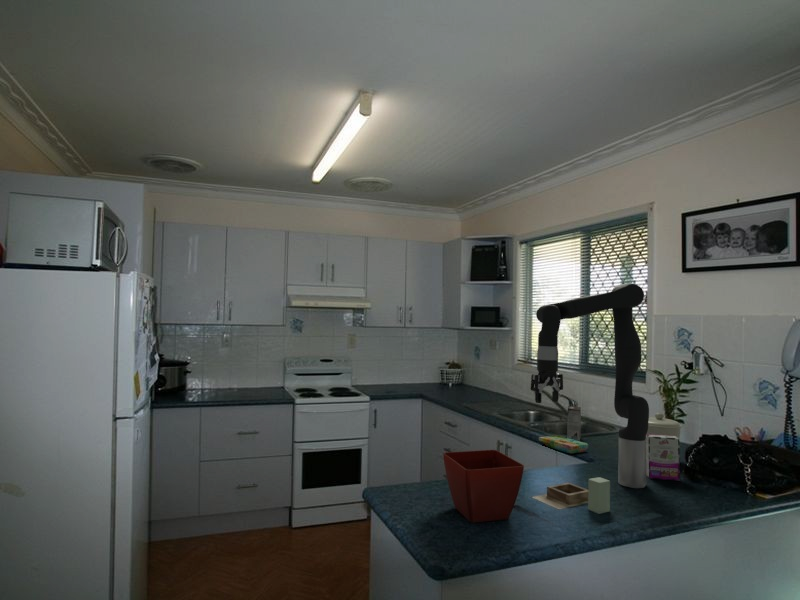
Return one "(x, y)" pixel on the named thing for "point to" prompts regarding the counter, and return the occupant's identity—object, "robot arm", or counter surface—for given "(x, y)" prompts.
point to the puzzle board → (564, 496)
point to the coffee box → (574, 423)
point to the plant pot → (483, 483)
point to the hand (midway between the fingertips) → (546, 402)
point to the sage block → (599, 495)
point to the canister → (663, 426)
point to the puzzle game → (564, 444)
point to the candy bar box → (663, 457)
